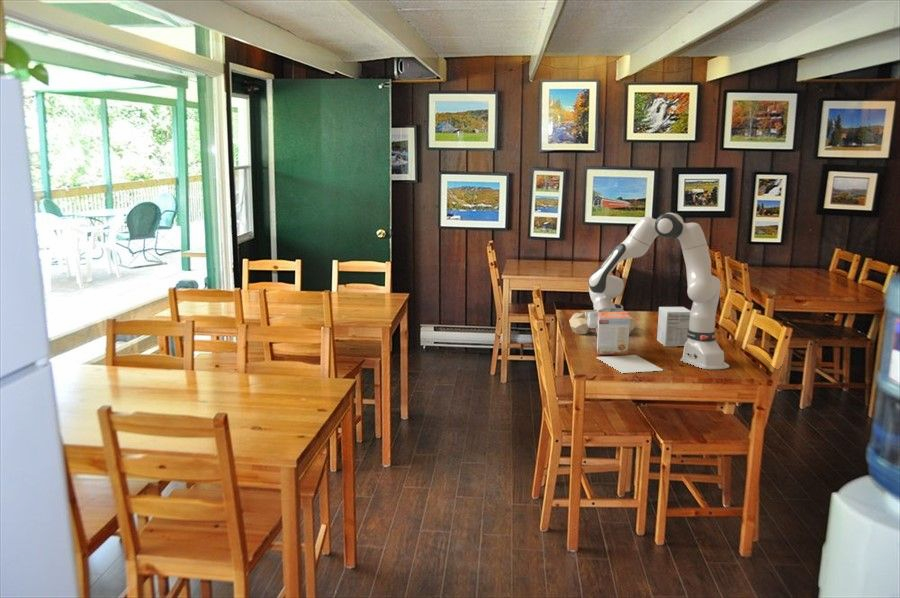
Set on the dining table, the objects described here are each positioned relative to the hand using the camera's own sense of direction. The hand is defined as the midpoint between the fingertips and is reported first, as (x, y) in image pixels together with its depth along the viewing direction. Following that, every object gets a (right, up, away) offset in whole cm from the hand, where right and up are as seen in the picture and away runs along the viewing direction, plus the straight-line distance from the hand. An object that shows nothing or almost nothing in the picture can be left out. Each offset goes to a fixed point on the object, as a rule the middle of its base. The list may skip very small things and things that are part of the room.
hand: (611, 334), depth 359 cm
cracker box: (0, -8, +1) cm, 8 cm away
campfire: (+5, -1, +49) cm, 49 cm away
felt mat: (+4, -13, -15) cm, 20 cm away
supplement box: (+36, -6, +24) cm, 43 cm away
